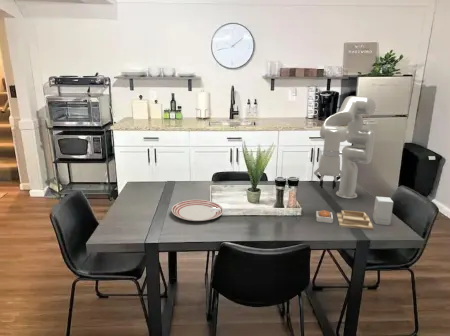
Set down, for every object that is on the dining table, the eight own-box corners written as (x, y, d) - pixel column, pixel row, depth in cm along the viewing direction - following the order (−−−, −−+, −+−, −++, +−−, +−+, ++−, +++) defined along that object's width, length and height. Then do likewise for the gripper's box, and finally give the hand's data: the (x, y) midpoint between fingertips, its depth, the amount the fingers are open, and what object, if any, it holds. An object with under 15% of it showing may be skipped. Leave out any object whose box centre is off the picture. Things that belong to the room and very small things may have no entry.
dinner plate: (233, 214, 194) (234, 208, 193) (196, 230, 174) (196, 223, 173) (198, 201, 212) (198, 196, 211) (160, 214, 192) (160, 208, 191)
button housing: (315, 215, 195) (316, 210, 194) (331, 216, 193) (331, 212, 192) (316, 221, 187) (317, 216, 186) (332, 223, 186) (333, 218, 185)
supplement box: (390, 225, 184) (393, 202, 181) (374, 224, 186) (378, 200, 182) (387, 219, 191) (390, 197, 188) (372, 218, 193) (375, 196, 189)
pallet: (336, 214, 196) (337, 208, 195) (367, 217, 193) (368, 211, 192) (339, 226, 181) (340, 220, 180) (373, 230, 178) (374, 223, 177)
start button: (319, 213, 192) (319, 209, 192) (329, 214, 191) (329, 210, 191) (319, 217, 188) (320, 213, 187) (329, 217, 187) (330, 214, 186)
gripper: (347, 152, 182) (343, 187, 187) (313, 150, 186) (310, 184, 191) (349, 156, 175) (345, 191, 180) (313, 153, 179) (310, 188, 183)
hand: (327, 187), depth 185 cm, fingers open, 5 cm apart
